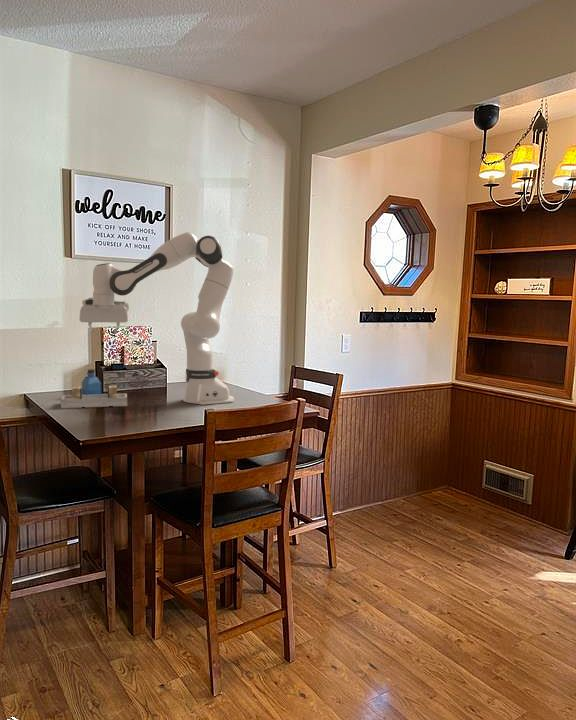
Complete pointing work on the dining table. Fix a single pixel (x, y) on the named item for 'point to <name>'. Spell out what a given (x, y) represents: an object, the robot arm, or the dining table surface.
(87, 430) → the dining table surface
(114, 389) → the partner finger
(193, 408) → the dining table surface
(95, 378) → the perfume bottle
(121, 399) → the rail
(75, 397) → the finger block
